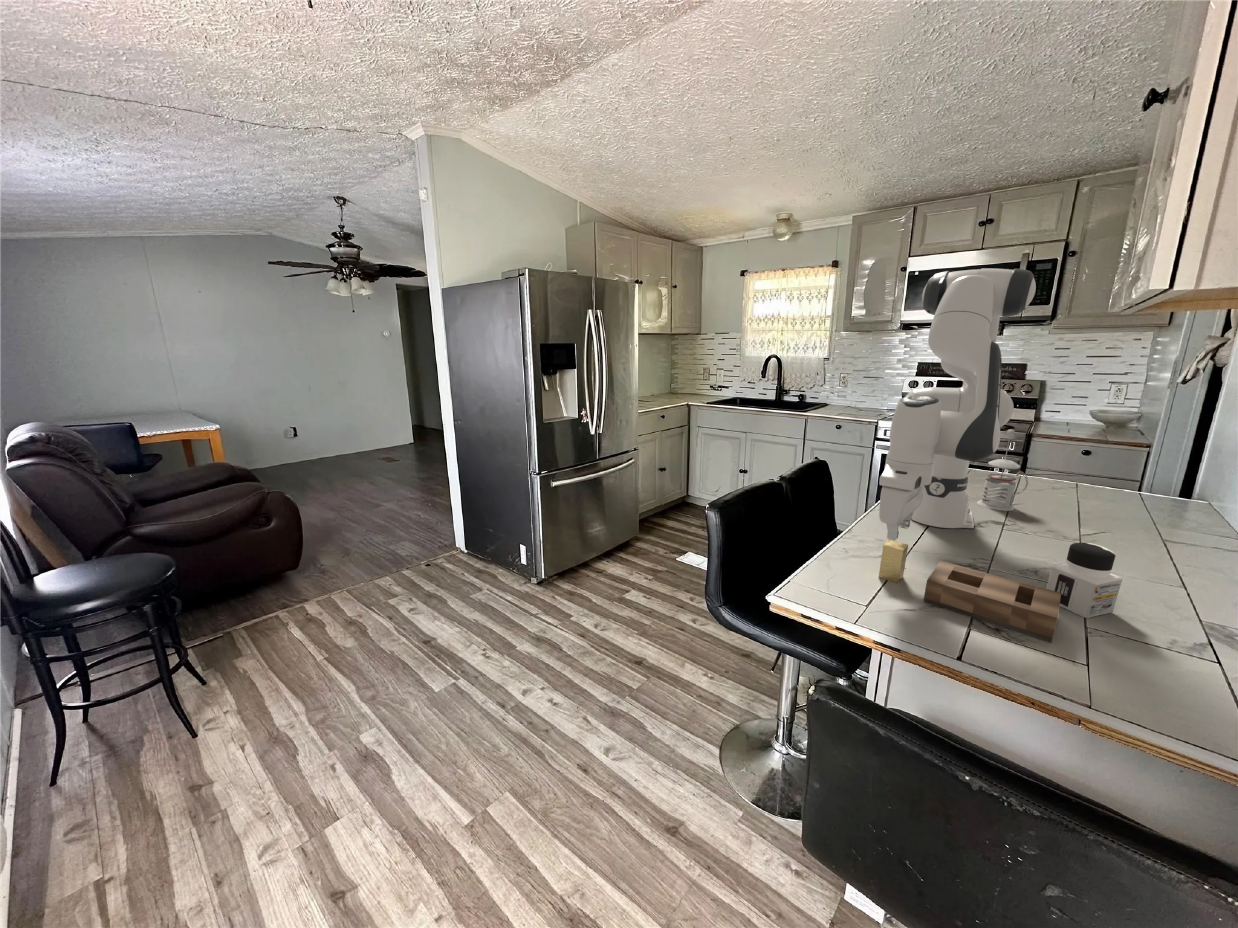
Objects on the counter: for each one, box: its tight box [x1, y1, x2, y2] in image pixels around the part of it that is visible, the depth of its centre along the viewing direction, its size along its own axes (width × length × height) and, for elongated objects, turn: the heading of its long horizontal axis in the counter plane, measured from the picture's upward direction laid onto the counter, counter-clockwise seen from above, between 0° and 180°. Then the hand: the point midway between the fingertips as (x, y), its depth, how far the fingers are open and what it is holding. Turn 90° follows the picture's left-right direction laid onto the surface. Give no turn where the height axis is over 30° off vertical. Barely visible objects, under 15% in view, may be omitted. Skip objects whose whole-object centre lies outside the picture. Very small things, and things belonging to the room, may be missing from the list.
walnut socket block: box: [923, 560, 1061, 644], centre depth 97 cm, size 12×20×5 cm, turn 46°
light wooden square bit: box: [878, 539, 909, 584], centre depth 109 cm, size 4×4×8 cm
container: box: [1045, 542, 1123, 619], centre depth 97 cm, size 8×8×13 cm
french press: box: [976, 429, 1029, 512], centre depth 152 cm, size 10×12×25 cm
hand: (898, 533), depth 107 cm, fingers open, 8 cm apart
